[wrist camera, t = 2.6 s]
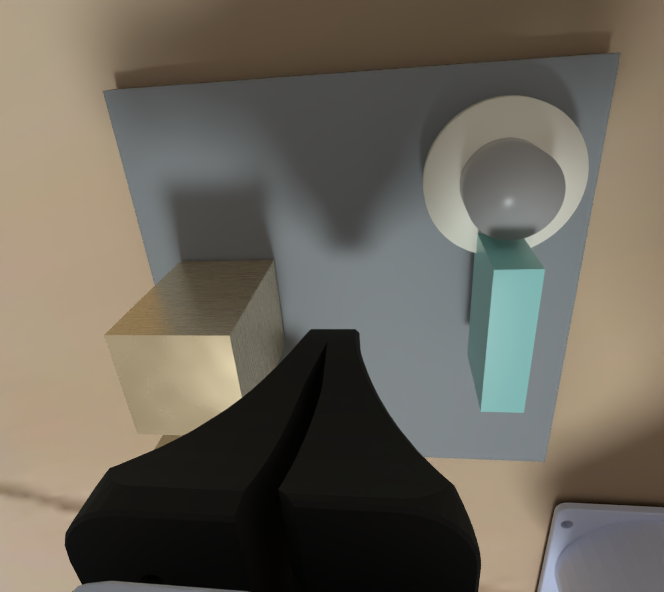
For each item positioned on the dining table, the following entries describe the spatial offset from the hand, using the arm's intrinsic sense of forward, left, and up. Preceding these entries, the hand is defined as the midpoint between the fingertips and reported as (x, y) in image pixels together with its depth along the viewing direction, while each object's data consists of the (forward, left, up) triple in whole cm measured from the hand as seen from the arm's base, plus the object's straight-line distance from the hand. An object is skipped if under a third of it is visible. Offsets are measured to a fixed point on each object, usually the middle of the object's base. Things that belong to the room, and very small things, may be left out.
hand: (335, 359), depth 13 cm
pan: (+2, -5, -4) cm, 6 cm away
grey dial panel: (-1, 0, -5) cm, 5 cm away
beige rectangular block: (-3, +4, -4) cm, 7 cm away
